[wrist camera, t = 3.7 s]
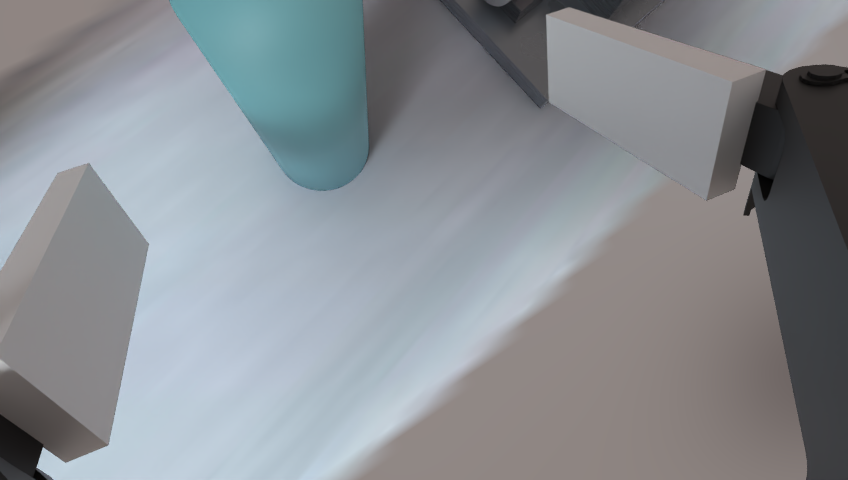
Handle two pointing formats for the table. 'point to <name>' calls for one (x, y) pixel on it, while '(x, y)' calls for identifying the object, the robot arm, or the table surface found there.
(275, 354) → the table surface
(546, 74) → the stand
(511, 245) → the table surface
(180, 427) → the table surface
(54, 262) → the robot arm
